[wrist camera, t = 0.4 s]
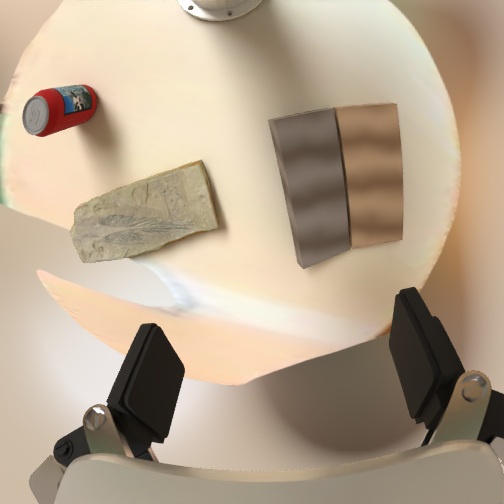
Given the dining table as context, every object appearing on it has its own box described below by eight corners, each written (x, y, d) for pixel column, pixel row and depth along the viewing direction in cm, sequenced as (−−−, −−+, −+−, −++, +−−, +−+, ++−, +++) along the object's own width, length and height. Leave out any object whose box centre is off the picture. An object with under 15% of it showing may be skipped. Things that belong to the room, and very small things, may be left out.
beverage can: (105, 93, 33) (57, 100, 23) (89, 129, 36) (42, 148, 26) (78, 78, 31) (28, 84, 21) (63, 114, 35) (15, 129, 24)
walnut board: (333, 107, 34) (336, 108, 32) (390, 102, 32) (396, 103, 31) (349, 242, 45) (352, 248, 43) (397, 233, 43) (402, 239, 42)
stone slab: (56, 218, 42) (193, 159, 35) (68, 209, 46) (201, 152, 39) (86, 271, 48) (223, 237, 41) (96, 260, 52) (228, 224, 45)
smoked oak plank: (268, 120, 32) (274, 120, 31) (324, 108, 34) (333, 108, 32) (297, 263, 44) (303, 269, 42) (342, 243, 45) (349, 249, 43)
